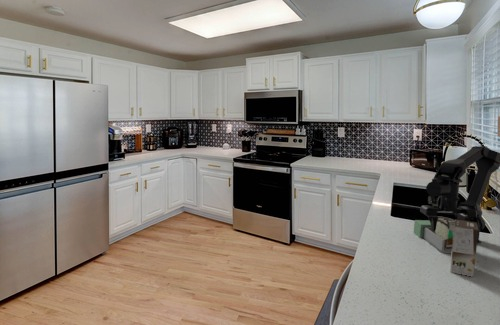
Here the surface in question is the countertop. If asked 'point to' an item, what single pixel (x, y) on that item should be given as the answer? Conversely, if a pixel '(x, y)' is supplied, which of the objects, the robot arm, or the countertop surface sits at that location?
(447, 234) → the food container
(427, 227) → the green block on stand
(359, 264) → the countertop surface
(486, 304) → the countertop surface
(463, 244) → the coffee box
